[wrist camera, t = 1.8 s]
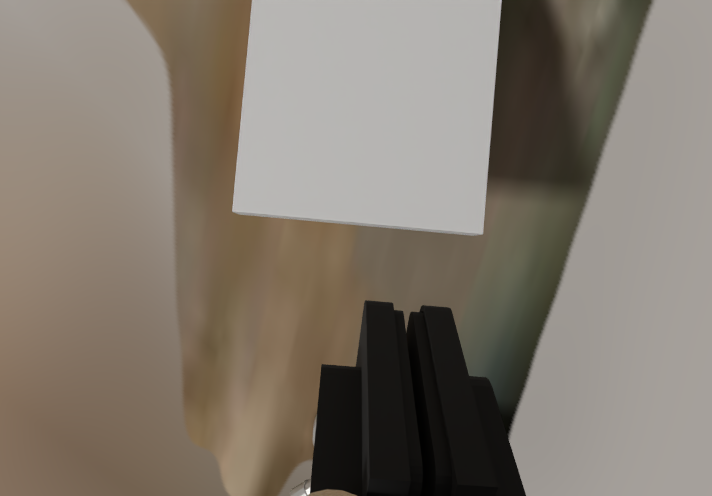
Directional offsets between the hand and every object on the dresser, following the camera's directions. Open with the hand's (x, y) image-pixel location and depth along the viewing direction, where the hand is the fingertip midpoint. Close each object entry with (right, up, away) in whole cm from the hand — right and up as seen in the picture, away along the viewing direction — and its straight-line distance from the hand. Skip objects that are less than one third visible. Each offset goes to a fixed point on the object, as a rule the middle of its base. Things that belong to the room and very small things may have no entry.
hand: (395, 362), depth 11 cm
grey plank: (0, +11, +16) cm, 20 cm away
